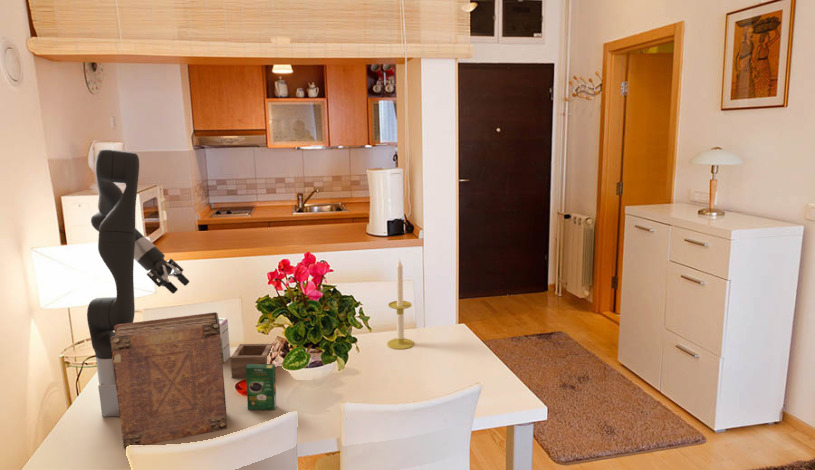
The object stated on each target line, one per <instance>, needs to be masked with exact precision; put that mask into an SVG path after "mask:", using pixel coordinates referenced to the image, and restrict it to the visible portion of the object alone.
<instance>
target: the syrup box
mask: <svg viewBox="0 0 815 470" xmlns="http://www.w3.org/2000/svg"><path fill="white" fill-rule="evenodd" d="M218 319H219V324H220V337H221V350H222V363H226V362H227V361H228V360H229V358H231V356H232V355H231V347H230V336H229V335H230V334H229V322H228V317H218Z"/></svg>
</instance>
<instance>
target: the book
mask: <svg viewBox="0 0 815 470" xmlns="http://www.w3.org/2000/svg"><path fill="white" fill-rule="evenodd" d="M218 318H219V314H218V312H208V313H201V314H200V313H199V314H198V313H197V314H192V315H183V316H175V317H167V318H159V319H151V320H142V321H136V322H135V321H133V323H126V324H118V325H115V326H114V330H115V331H114V333H115V336H113V337H111V338H110V342H111V350H112V358H113V366H114V374H115V382H116V390H117V398H118V406H119V414H120V416H119V421H120V429H121V430H120V431H121V437H122V445H123V449H124V450H127V449H126V447H127V446H129V445H143V446H147V445H152V444H156V443H162V442H167V441H171V440H176V439H182V438H186V437H192V436H196V435H202V434H206V433H210V432H214V431H220V430H225V429H228V418H227V417H228V416H227V406H226V405H227V404H226V392H225V390H226V389H225V377H224V365H223V363H222V350H221V337H220V324H219V319H218Z"/></svg>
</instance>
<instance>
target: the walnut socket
mask: <svg viewBox="0 0 815 470" xmlns="http://www.w3.org/2000/svg"><path fill="white" fill-rule="evenodd" d="M272 344H273V343H240V344H239V345H238V347H237V348H236V349H235V351H234V352H233V353H232V355H231V356H230V365H231V366H230V367H231V368H230V371H231V379H239V378H240V379H245V378H246V367H247V365H248V364H267V356H268V355H269V353H270V351H271V348H272Z"/></svg>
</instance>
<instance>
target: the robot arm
mask: <svg viewBox="0 0 815 470" xmlns="http://www.w3.org/2000/svg"><path fill="white" fill-rule="evenodd" d="M94 166H95V170H94V171H95V178H96V179H95V180H96V186H97V192H98V200H97V201H98V202H97V208H98V212H96V213H95V214H93V215H92V216H91V218H90V223H91V225H92V227H93V228H94V229H95V230H96V231H97V232H98V240H97V241H98V244H97V246H98V247H97V249H98V253H99V255H100V258H101V260H102V261H103V263H104V264H105V265H106V267H107V269H108V270H109V271H110V273H111V275H112V277H113V279H114V283H115V287H116V289H115V290H116V296H115V297H114V296H113V297H111V296H110V297H96V298H93V299H92V300H91V301H90V302H89V304H88V305H87V311H86V313H87V314H86V317H87V318H86V320H87V325H88V330H89V335H90V342H91V346H92V349H93V351H94V354H95V355H94V356H95V361H96V368H97V377H98V387H97V388H98V393H99V402H100V409H101V416H102V417H120V414H119V406H118V398H117V390H116V382H115V374H114V366H113V358H112V350H111V342H110V338H111V337H113V336H115V330H114V326H115V325H118V324H126V323H134V320H135V306H136V305H135V287H134V285H135V284H134V264H135V263H134V262H135V261H136V262H137V264H138V265H140V266H141V267H142V268H143V269H144V270H145V271H147V273H146V275H147V277H148V278H149V279H151V281H152V282H153V283H154V284H155V285H156V286H157V287H159V288H160V287H161V286H162V287H163V288H164V287H165V288H166V289H167V290H168V291H169V292H170V293H171V294H175V293H177V291H178V287H177V286H176V285H175V284H173V283H172V282H171V281H170V280H169V278H168V277H173V278H177V279H176V280H177V281H179V282H180V283H181V284H182V285H184V287H185V286H187V285H188V284H189V283H190V280H189V279H188V278H187V277H186V276H185V275H184V274H183V271H184V268H183V267H181V266H180V265H179V264H178V263H177V262H176V261H175V260H174V259H172V258H170V259H168V260H165V254H164V252H162V251H161V250H160V249H159V248H158V247H157V246H156V245H155V244H154V243H152V242H151V241H150V240H149V239H148V238H147V237H145V236H144V235H143V234H142V233H141V232H140V231H139V230H138V229H137V228H136V205H137V196H138V195H137V193H138V185H139V176H140V175H139V174H140V173H139V172H140V158H139V156H138V154H137V152H133V151H132V152H131V151H123V150H115V149H101V150H99V151H98V152H97V155H96V158H95V165H94ZM116 183H117V184H118V183H119V184H125V188H124V191H122V189H121V188H120V187H119V186H118V185H117V184H116ZM134 260H135V261H134Z"/></svg>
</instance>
